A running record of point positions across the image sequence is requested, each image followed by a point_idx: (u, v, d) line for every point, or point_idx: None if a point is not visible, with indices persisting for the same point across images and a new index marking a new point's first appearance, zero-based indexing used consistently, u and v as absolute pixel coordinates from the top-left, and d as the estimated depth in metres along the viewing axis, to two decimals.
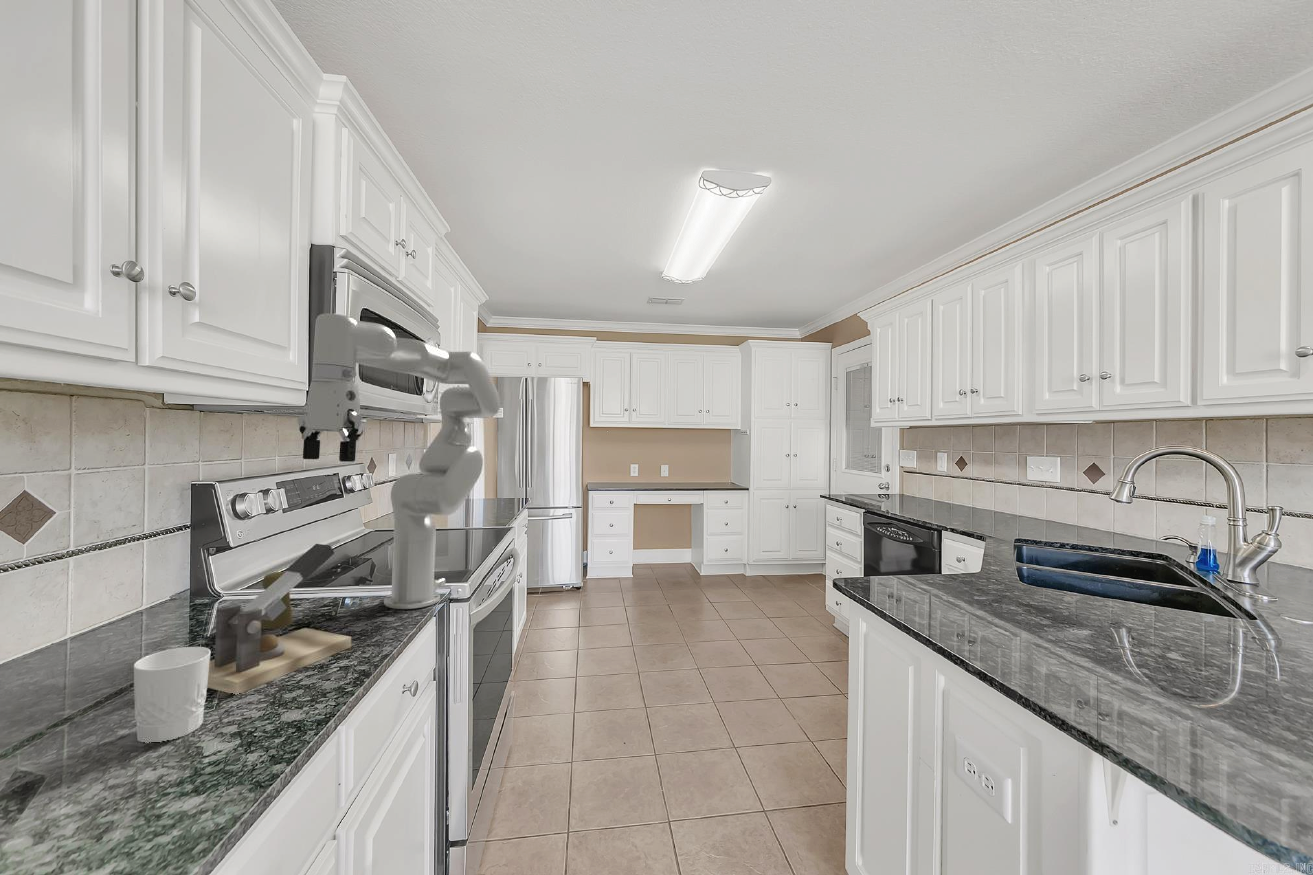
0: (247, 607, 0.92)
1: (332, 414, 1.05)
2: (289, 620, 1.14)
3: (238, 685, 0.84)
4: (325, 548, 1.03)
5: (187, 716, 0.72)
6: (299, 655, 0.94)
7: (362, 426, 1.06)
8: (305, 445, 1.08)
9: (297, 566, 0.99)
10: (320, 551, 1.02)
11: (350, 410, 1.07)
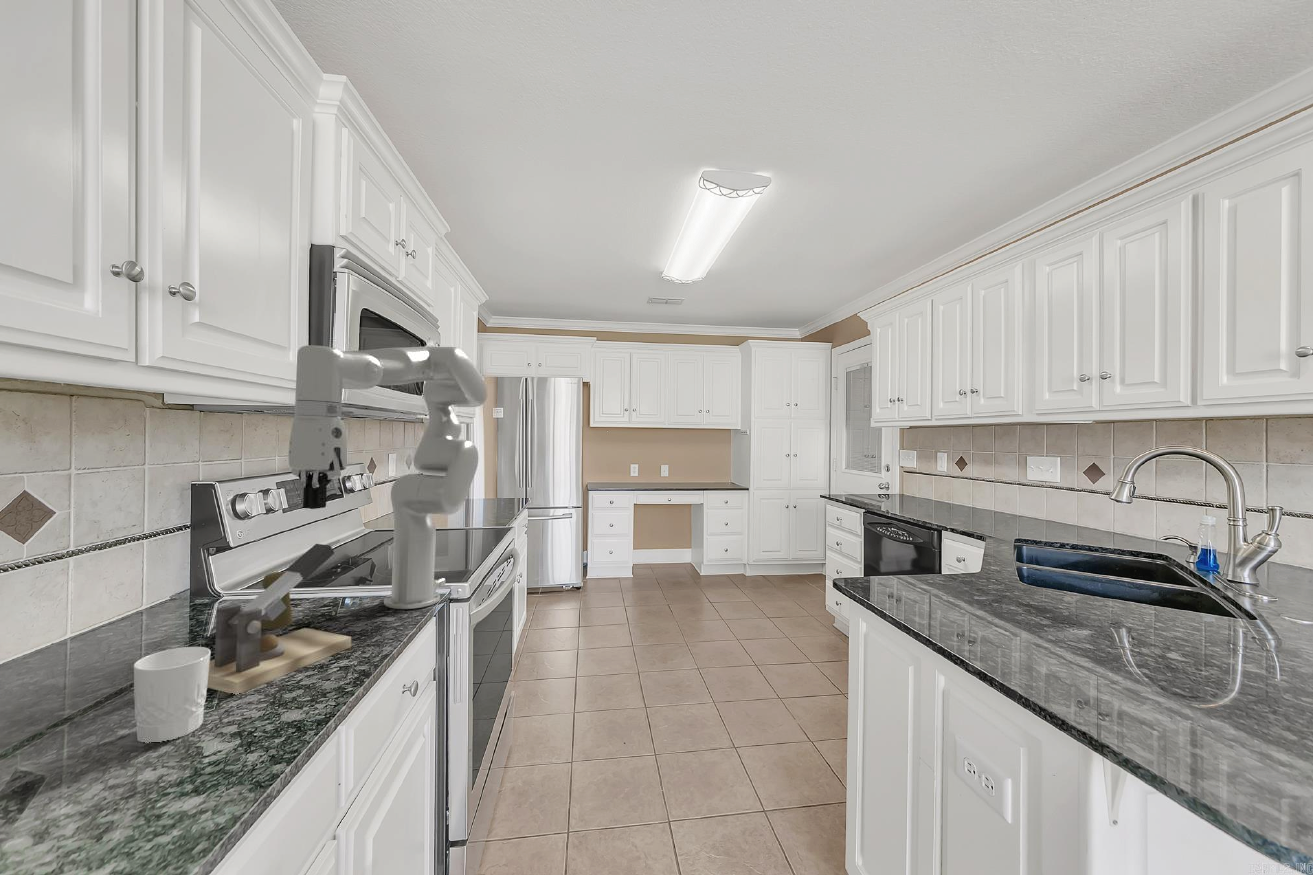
0: (247, 607, 0.92)
1: (317, 453, 0.99)
2: (289, 620, 1.14)
3: (238, 685, 0.84)
4: (325, 548, 1.03)
5: (187, 716, 0.72)
6: (299, 655, 0.94)
7: (333, 478, 1.01)
8: (305, 493, 1.01)
9: (297, 566, 0.99)
10: (320, 551, 1.02)
11: (334, 454, 1.01)
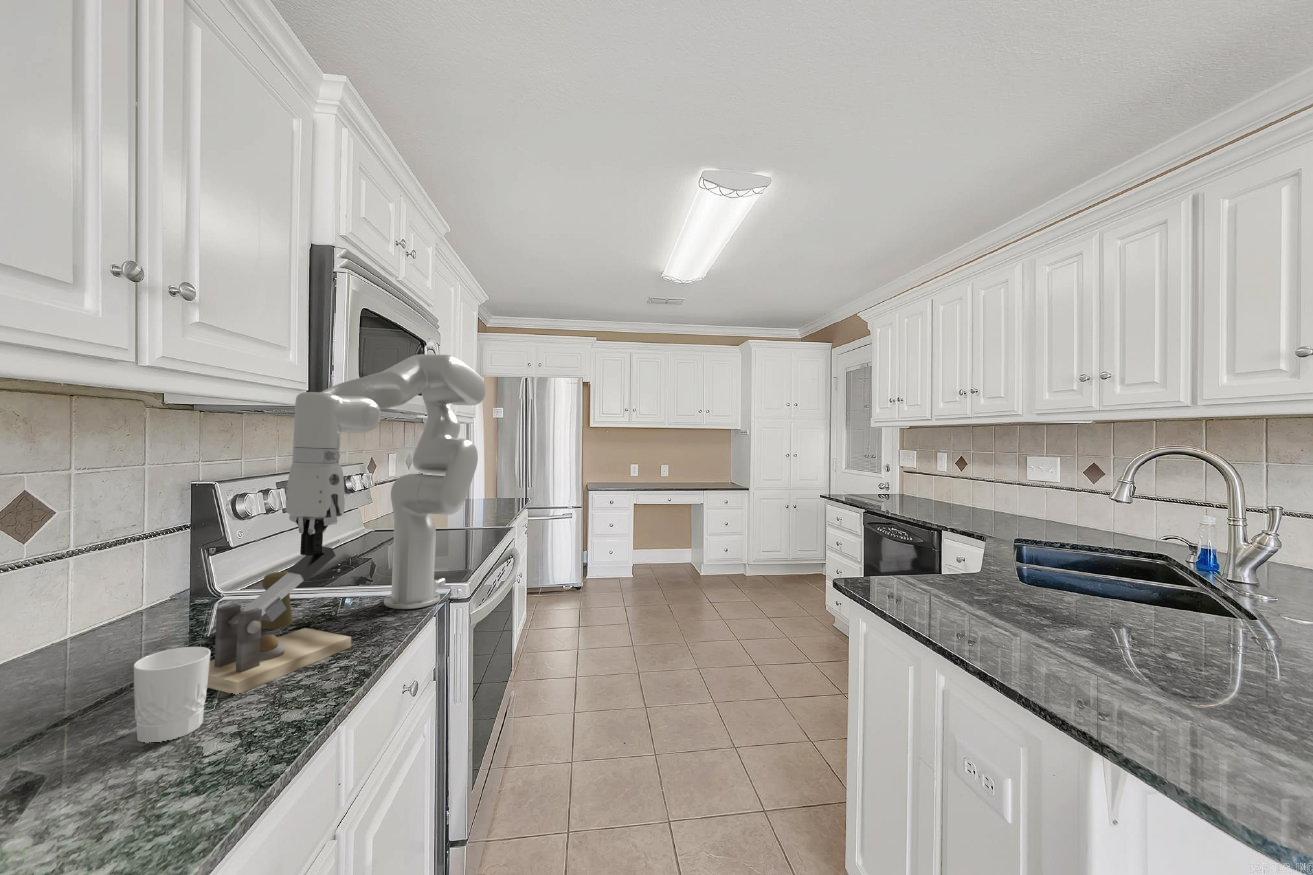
0: (247, 607, 0.92)
1: (314, 501, 0.99)
2: (289, 620, 1.14)
3: (238, 685, 0.84)
4: (326, 550, 1.03)
5: (187, 716, 0.72)
6: (299, 655, 0.94)
7: None
8: (303, 540, 1.00)
9: (298, 567, 0.99)
10: (321, 553, 1.02)
11: (331, 500, 1.00)
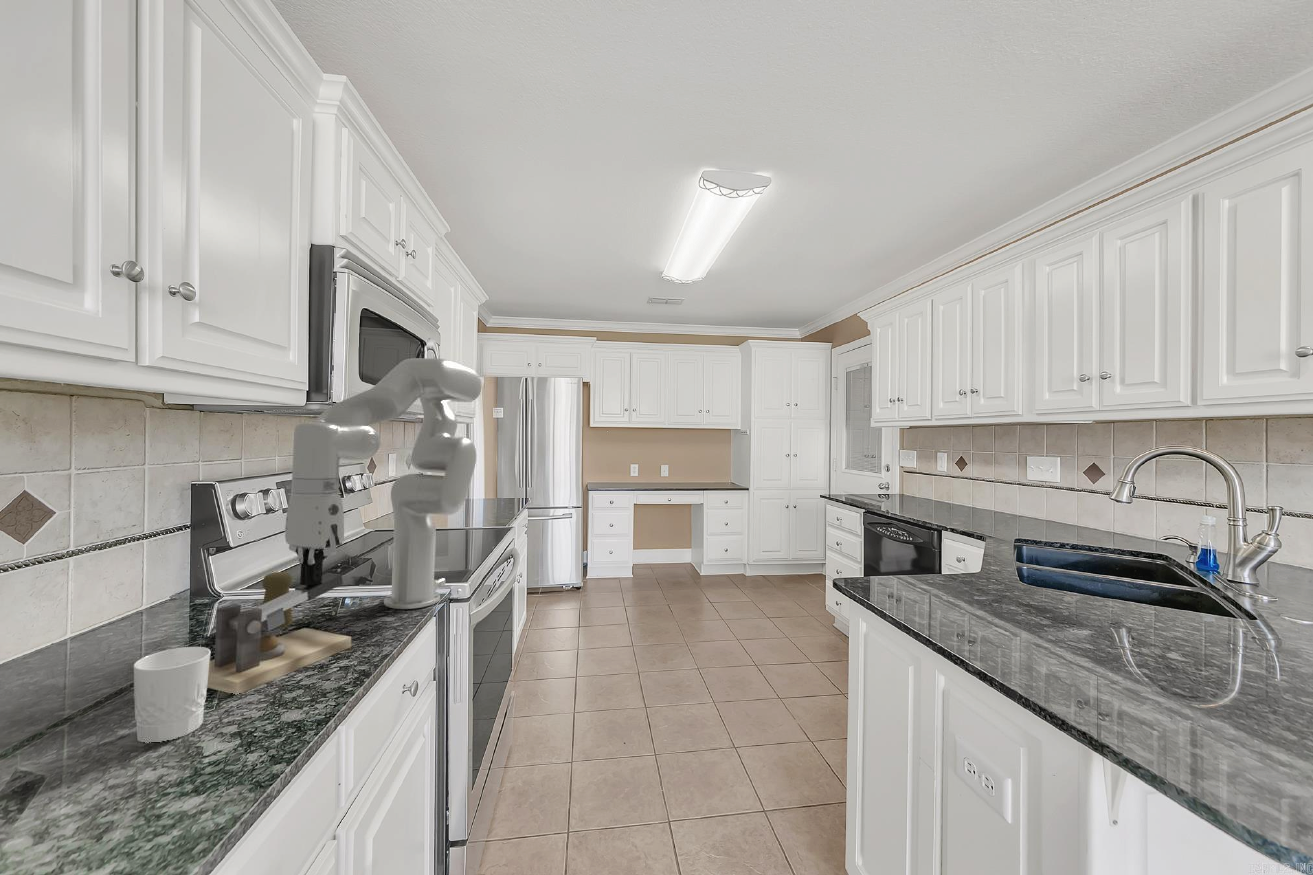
0: None
1: (314, 532, 0.99)
2: (289, 620, 1.14)
3: (238, 685, 0.84)
4: (336, 576, 1.05)
5: (187, 716, 0.72)
6: (299, 655, 0.94)
7: None
8: (302, 570, 1.00)
9: (306, 586, 1.01)
10: (331, 577, 1.05)
11: (331, 531, 1.00)
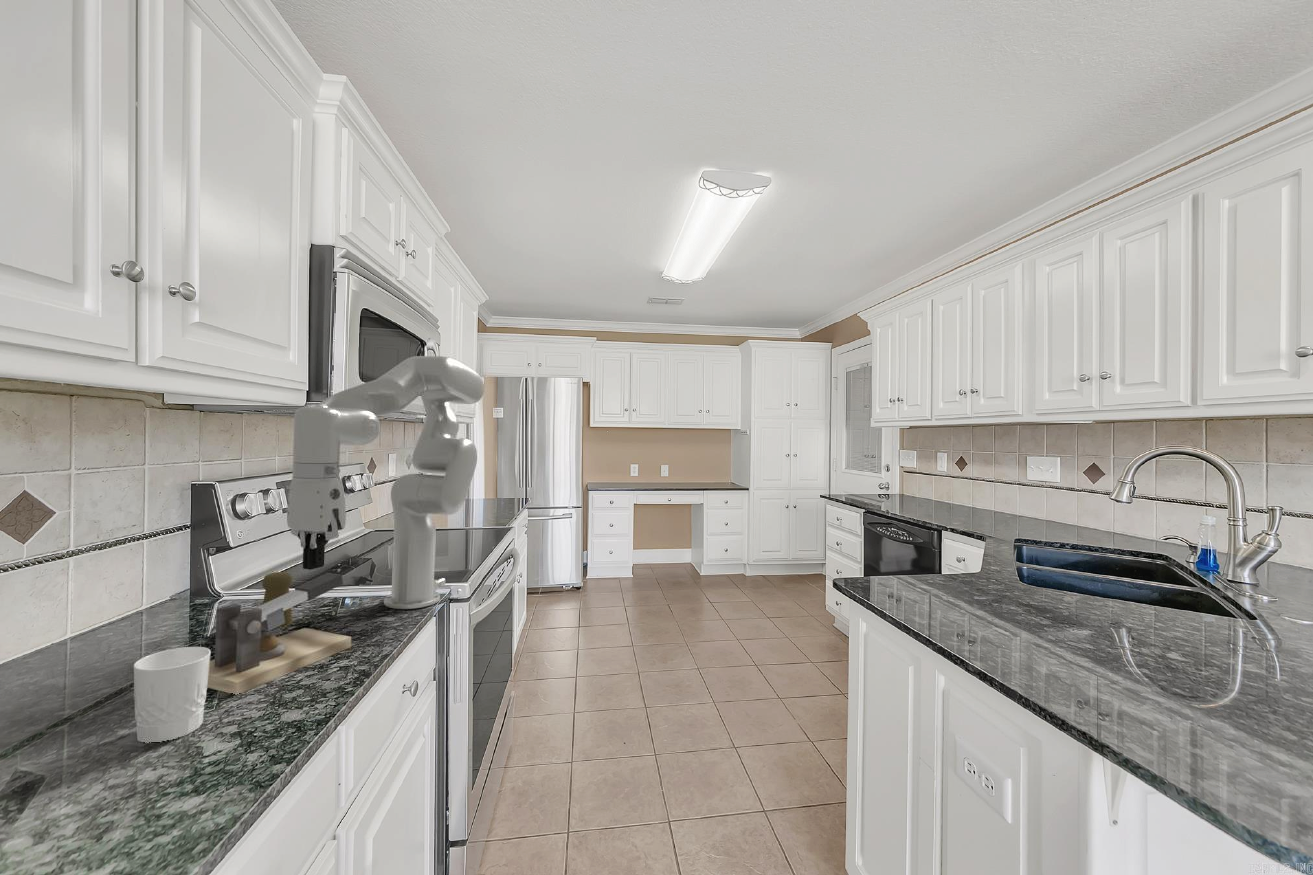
0: None
1: (315, 516, 0.99)
2: (289, 620, 1.14)
3: (238, 685, 0.84)
4: (336, 576, 1.05)
5: (187, 716, 0.72)
6: (299, 655, 0.94)
7: None
8: (305, 554, 1.01)
9: (306, 586, 1.01)
10: (331, 577, 1.05)
11: (332, 515, 1.01)
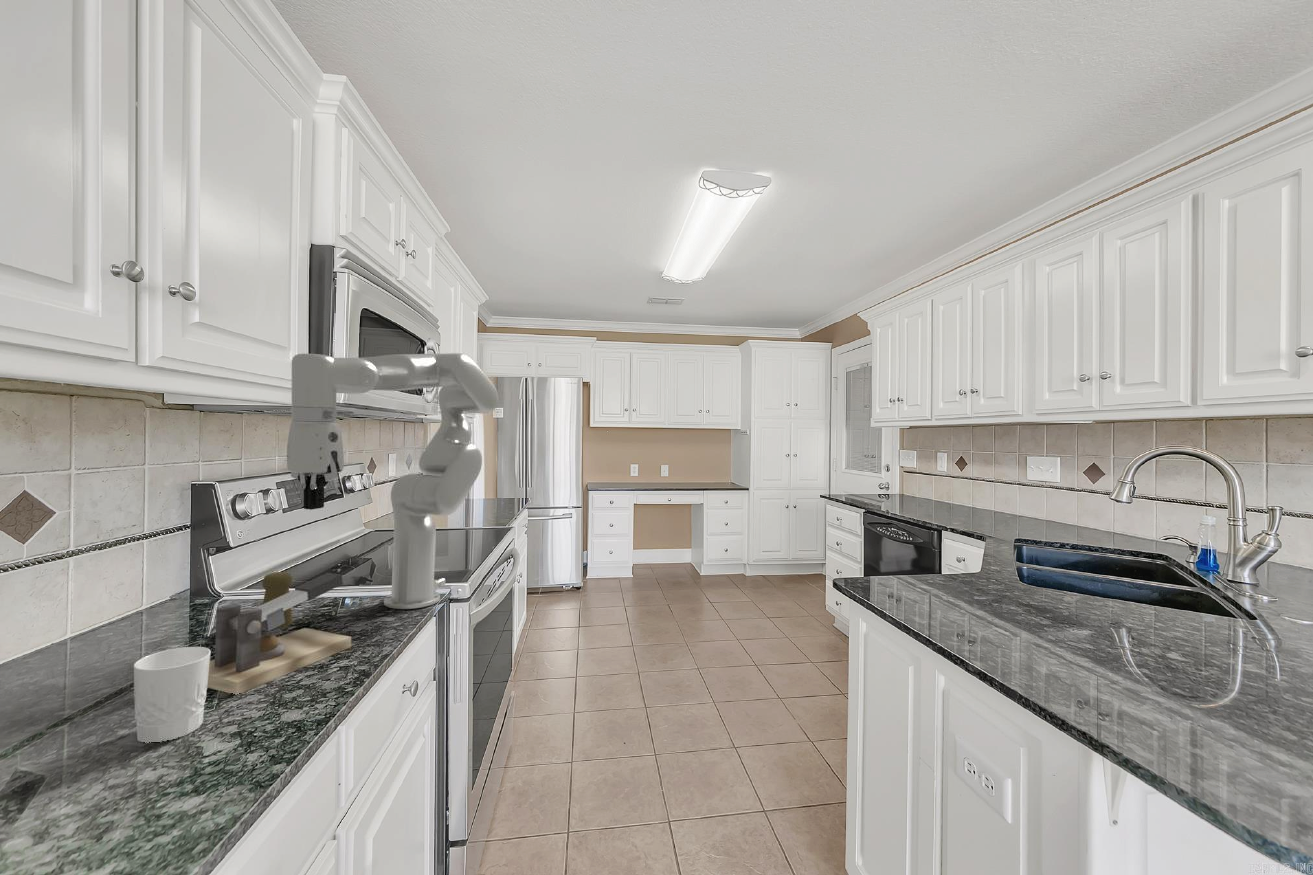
0: None
1: (315, 457, 1.04)
2: (289, 620, 1.14)
3: (238, 685, 0.84)
4: (336, 576, 1.05)
5: (187, 716, 0.72)
6: (299, 655, 0.94)
7: (330, 480, 1.06)
8: (305, 495, 1.06)
9: (306, 586, 1.01)
10: (331, 577, 1.05)
11: (331, 457, 1.05)
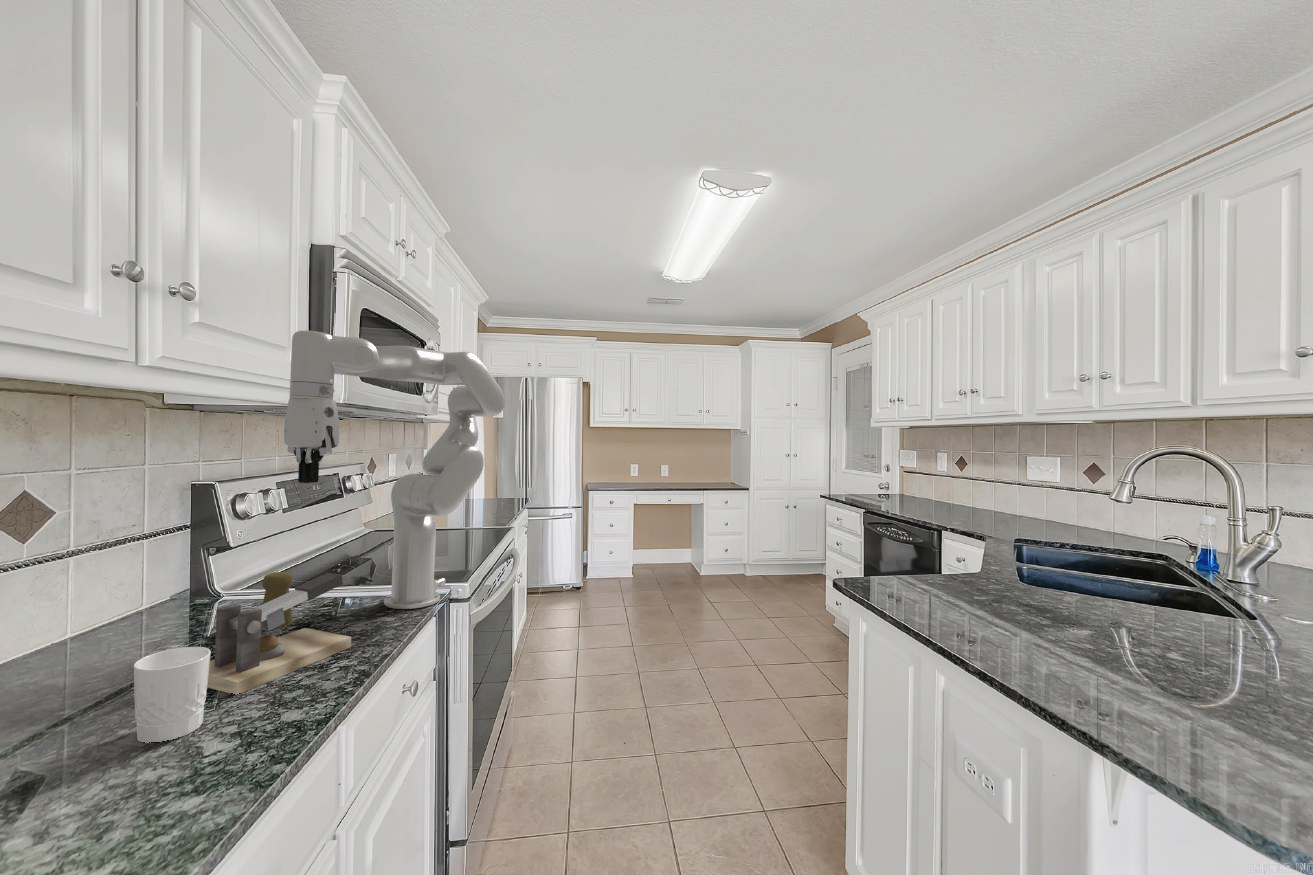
0: None
1: (310, 431, 1.06)
2: (289, 620, 1.14)
3: (238, 685, 0.84)
4: (336, 576, 1.05)
5: (187, 716, 0.72)
6: (299, 655, 0.94)
7: (325, 454, 1.08)
8: (300, 469, 1.08)
9: (306, 586, 1.01)
10: (331, 577, 1.05)
11: (326, 432, 1.08)
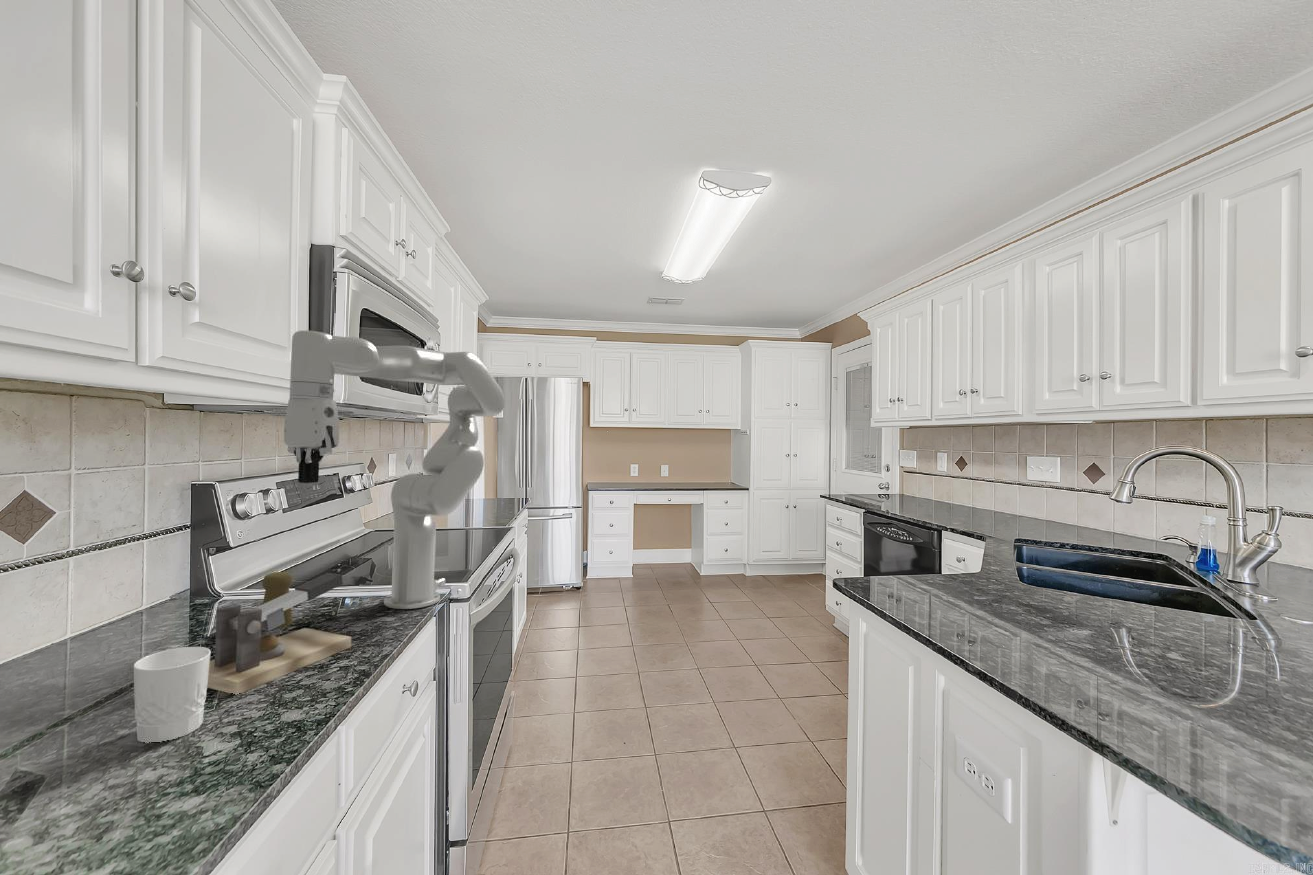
0: None
1: (310, 431, 1.06)
2: (289, 620, 1.14)
3: (238, 685, 0.84)
4: (336, 576, 1.05)
5: (187, 716, 0.72)
6: (299, 655, 0.94)
7: (325, 454, 1.08)
8: (300, 469, 1.08)
9: (306, 586, 1.01)
10: (331, 577, 1.05)
11: (326, 432, 1.08)
